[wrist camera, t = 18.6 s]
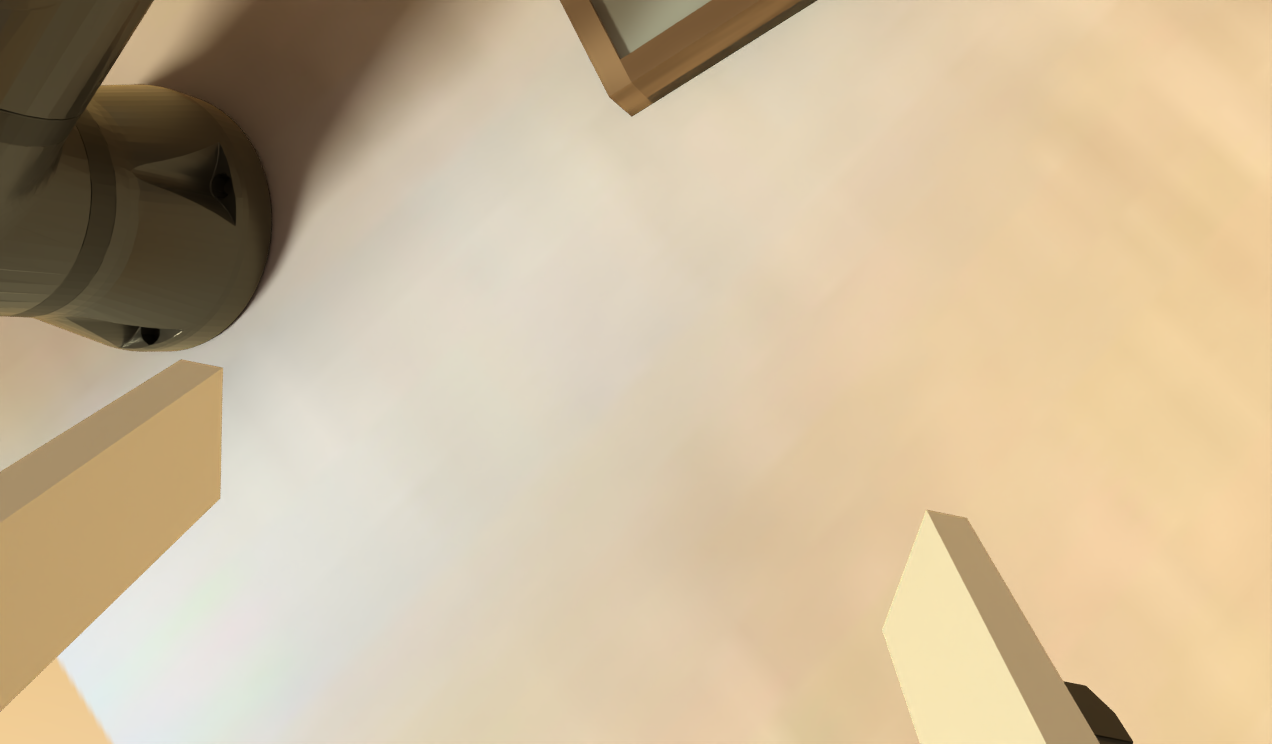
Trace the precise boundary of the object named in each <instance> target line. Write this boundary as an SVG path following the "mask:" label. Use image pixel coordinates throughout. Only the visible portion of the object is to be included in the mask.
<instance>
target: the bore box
mask: <svg viewBox="0 0 1272 744" xmlns="http://www.w3.org/2000/svg"><path fill="white" fill-rule="evenodd" d="M560 1H561V3H562V5H563V7H564V9H565V11H566V13H567V15H568V17H569V19H570V21H571V23H572V25H573V27H574V29H575V31H576V33H577V35H578V37H579V39H580V41H581V43H582V45H583V47H584V49H585V50H586V52H587V54H588V56H589V58H590V60H591V62H592V64H593V66H594V68H595V70H596V72H597V74H598V76H599V78H600V80H601V82H602V84H603V86H604V88H605V90H606V92H607V94H608V96H609V97H610V98H611V99H612V100H613V101H614V102H616V103H617V104H618V105H619V106H620V107H621V108H622V109H624V110H625V111H626V112H627V113H628V114H629V115H631V116H633V115H635V114H637V113H638V112H640V111H641V110H643V109H644V108H646V107H648V106H649V105H651V104H652V103H654V102H656V101H657V100H659V99H660V98H662V97H664V96H665V95H667V94H668V93H670V92H672V91H673V90H675V89H676V88H678V87H680V86H681V85H683V84H684V83H686V82H688V81H689V80H691V79H692V78H694V77H695V76H697V75H699V74H700V73H702V72H703V71H705V70H707V69H708V68H710V67H711V66H713V65H715V64H716V63H718V62H719V61H721V60H723V59H724V58H726V57H727V56H729V55H731V54H732V53H734V52H735V51H737V50H738V49H740V48H742V47H743V46H745V45H746V44H748V43H750V42H751V41H753V40H754V39H756V38H758V37H759V36H761V35H762V34H764V33H766V32H767V31H769V30H770V29H772V28H774V27H775V26H777V25H778V24H780V23H782V22H783V21H785V20H786V19H788V18H789V17H791V16H793V15H794V14H796V13H797V12H799V11H801V10H802V9H804V8H805V7H807V6H809V5H810V4H812V3H813V2H815V1H817V0H560Z"/></svg>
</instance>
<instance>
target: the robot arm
mask: <svg viewBox="0 0 1272 744" xmlns="http://www.w3.org/2000/svg"><path fill="white" fill-rule="evenodd" d="M153 1H154V0H0V316H10V317H30V318H35V319H38V320H40V321H43V322H46V323H48V324H51V325H54V326H56V327H59V328H62V329H64V330H67V331H70V332H73V333H75V334H78V335H81V336H83V337H86V338H89V339H91V340H94V341H97V342H99V343H102V344H105V345H107V346H110V347H114V348H118V349H123V350H128V351H139V352H160V351H179V350H185V349H189V348H192V347H195V346H198V345H201V344H203V343H205V342H207V341H209V340H210V339H212V338H214V337H215V336H217V335H218V334H220V333H221V332H222V331H223V330H225V329H226V328H227V327H228V326H229V325H230V324H231V323H232V322H233V321H234V320H235V319H236V318H237V317H238V316H239V315H240V313H241V312H242V311H243V309H244V308H245V307H246V305H247V304H248V302H249V300H250V299H251V297H252V295H253V294H254V292H255V290H256V288H257V285H258V283H259V281H260V278H261V276H262V273H263V270H264V267H265V264H266V260H267V256H268V251H269V246H270V238H271V224H272V222H271V202H270V195H269V189H268V184H267V181H266V177H265V174H264V171H263V168H262V165H261V163H260V160H259V158H258V156H257V154H256V152H255V150H254V148H253V146H252V144H251V143H250V141H249V140H248V138H247V137H246V135H245V134H244V132H243V131H242V130H241V129H240V128H239V126H238V125H237V124H236V123H235V122H234V121H233V120H232V119H231V118H230V117H228V116H227V115H226V114H225V113H224V112H222V111H221V110H220V109H218V108H216V107H215V106H213V105H211V104H209V103H207V102H205V101H203V100H200V99H198V98H195V97H192V96H189V95H186V94H183V93H181V92H178V91H175V90H172V89H168V88H165V87H159V86H153V85H145V84H134V85H102V86H100V85H101V83H102V82H103V80H104V79H105V77H106V76H107V74H108V72H109V71H110V69H111V68H112V66H113V64H114V63H115V61H116V60H117V58H118V56H119V55H120V53H121V52H122V50H123V49H124V47H125V45H126V44H127V42H128V41H129V39H130V37H131V36H132V34H133V33H134V31H135V29H136V28H137V26H138V25H139V23H140V22H141V20H142V18H143V17H144V15H145V14H146V12H147V10H148V9H149V7H150V6H151V4H152V2H153ZM222 383H223V368H221V367H216V366H211V365H206V364H201V363H196V362H191V361H186V360H182V359H181V360H179V361H178V362H176V363H175V364H173V365H171V366H170V367H168V368H167V369H165V370H163V371H162V372H160V373H158V374H157V375H155V376H154V377H152V378H150V379H149V380H147V381H146V382H144V383H142V384H141V385H139V386H138V387H136V388H134V389H133V390H131V391H130V392H128V393H126V394H125V395H123V396H121V397H120V398H118V399H117V400H115V401H113V402H112V403H110V404H109V405H107V406H105V407H104V408H102V409H101V410H99V411H97V412H96V413H94V414H93V415H91V416H89V417H88V418H86V419H85V420H83V421H81V422H80V423H78V424H76V425H75V426H73V427H72V428H70V429H68V430H67V431H65V432H64V433H62V434H60V435H59V436H57V437H56V438H54V439H52V440H51V441H49V442H48V443H46V444H44V445H43V446H41V447H39V448H38V449H36V450H35V451H33V452H31V453H30V454H28V455H27V456H25V457H23V458H22V459H20V460H19V461H17V462H15V463H14V464H12V465H11V466H9V467H7V468H6V469H4V470H2V471H1V472H0V712H1V711H2V709H4V708H5V707H6V706H7V705H8V704H9V703H10V702H11V701H12V700H13V699H14V698H15V697H16V696H17V695H18V694H19V693H20V692H21V691H22V690H23V689H24V688H25V687H26V686H27V685H28V684H29V683H30V682H31V681H32V680H34V679H35V678H36V676H38V675H39V674H40V673H41V672H42V671H43V669H45V668H46V667H47V666H48V665H49V664H50V663H51V662H52V661H53V660H54V659H55V658H56V657H57V656H58V655H59V654H60V653H61V652H62V651H63V650H64V649H65V648H67V647H68V646H69V645H70V644H71V643H72V642H73V641H74V640H75V639H76V638H77V637H78V636H79V635H80V634H81V633H82V632H83V631H84V630H85V629H86V628H87V627H88V626H89V625H90V624H91V623H92V622H93V621H94V620H95V619H96V618H97V617H98V616H99V615H101V614H102V613H103V612H104V611H105V610H106V609H107V608H108V607H109V606H110V605H111V604H112V603H113V602H114V601H115V600H116V599H117V598H118V597H119V596H120V595H121V594H122V593H123V592H124V591H125V590H126V589H127V588H128V587H129V586H130V585H131V584H132V583H133V582H134V581H136V580H137V579H138V578H139V577H140V576H141V575H142V574H143V573H144V572H145V571H146V570H147V569H148V568H149V567H150V566H151V565H152V564H153V563H154V562H155V561H156V560H157V559H158V558H159V557H160V556H161V555H162V554H163V553H164V552H165V551H166V550H167V549H168V548H170V547H171V546H172V545H173V544H174V543H175V542H176V541H177V540H178V539H179V538H180V537H181V536H182V535H183V534H184V533H185V532H186V531H187V530H188V529H189V528H190V527H191V526H192V525H193V524H194V523H195V522H196V521H197V520H198V519H199V518H200V517H201V516H202V515H204V514H205V513H206V512H207V511H208V510H209V509H210V508H211V507H212V506H213V505H214V504H215V503H216V502H217V501H218V500H219V499H220V485H221V434H222ZM882 631H883V634H884V637H885V640H886V643H887V646H888V649H889V652H890V655H891V658H892V661H893V664H894V667H895V670H896V673H897V676H898V679H899V682H900V685H901V688H902V691H903V694H904V697H905V700H906V703H907V706H908V709H909V712H910V715H911V719H912V722H913V725H914V728H915V731H916V734H917V737H918V740H919V743H920V744H1133V741H1132V739H1131V738H1130V736H1129V734H1128V733H1127V731H1126V730H1125V728H1124V727H1123V725H1122V724H1121V722H1120V720H1119V719H1118V717H1117V716H1116V714H1115V713H1114V712H1113V711H1112V710H1111V709H1110V708H1109V707H1108V706H1107V705H1106V704H1105V703H1104V702H1102V701H1101V700H1100V699H1099V698H1098V697H1097V696H1096V695H1095V694H1094V693H1093V692H1092V691H1091V690H1090V689H1089V688H1088V687H1087V686H1084V685H1079V684H1074V683H1069V682H1064V681H1063V680H1062V679H1061V677H1060V675H1059V674H1058V672H1057V670H1056V668H1055V667H1054V665H1053V663H1052V662H1051V660H1050V658H1049V657H1048V655H1047V653H1046V652H1045V650H1044V648H1043V646H1042V645H1041V643H1040V641H1039V640H1038V638H1037V636H1036V635H1035V633H1034V631H1033V629H1032V628H1031V626H1030V624H1029V623H1028V621H1027V619H1026V618H1025V616H1024V614H1023V612H1022V611H1021V609H1020V607H1019V606H1018V604H1017V602H1016V601H1015V599H1014V597H1013V596H1012V594H1011V592H1010V590H1009V589H1008V587H1007V585H1006V584H1005V582H1004V580H1003V579H1002V577H1001V575H1000V573H999V572H998V570H997V568H996V567H995V565H994V563H993V562H992V560H991V558H990V557H989V555H988V553H987V551H986V550H985V548H984V546H983V545H982V543H981V541H980V540H979V538H978V536H977V534H976V533H975V531H974V529H973V528H972V526H971V524H970V523H969V521H968V519H967V518H964V517H959V516H954V515H950V514H945V513H940V512H935V511H930V510H926V512H925V515H924V518H923V520H922V523H921V526H920V528H919V531H918V534H917V537H916V539H915V542H914V545H913V548H912V550H911V553H910V556H909V558H908V561H907V564H906V567H905V569H904V572H903V575H902V577H901V580H900V583H899V586H898V588H897V591H896V594H895V596H894V599H893V602H892V605H891V607H890V610H889V613H888V615H887V618H886V621H885V624H884V626H883V629H882Z"/></svg>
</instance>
